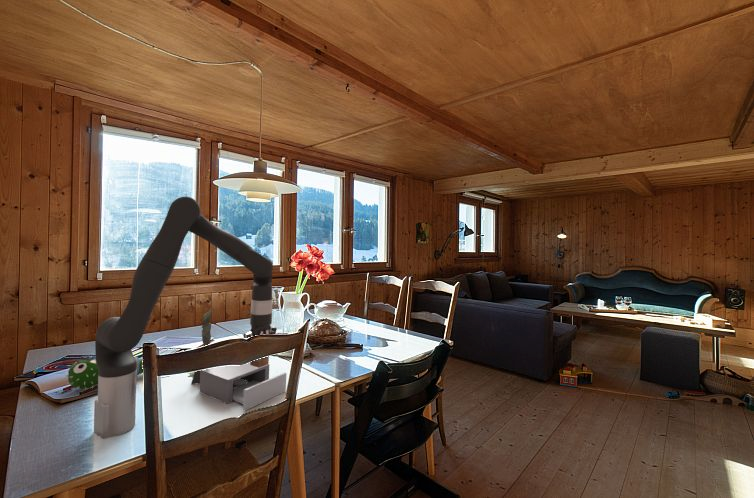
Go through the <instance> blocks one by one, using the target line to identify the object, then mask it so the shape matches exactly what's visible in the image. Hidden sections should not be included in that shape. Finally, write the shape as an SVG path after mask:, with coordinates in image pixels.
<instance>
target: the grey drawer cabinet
mask: <svg viewBox="0 0 754 498" xmlns="http://www.w3.org/2000/svg"><path fill="white" fill-rule="evenodd" d="M268 379H270V363H269V364H268V365H265V366H262V367H260V368H258V367H255V366H252V365H250V363H248V364H245V365H240V366H225V367H217V368H211V369H206V370H201V371H200V384H199V393H201V394H203V395H205V396H207V397H210V398H212V399H215V400H217V401H220V402H222V403H224V402H225V403H224V404H226V403H228V404H231V403H233V400H232V392H233V388H234V387H233V386H234V382H235V381H238V380H243V381H246V382H250V381H252V380H254V381H257V382H260V383H261V382H263V381H266V380H268Z"/></svg>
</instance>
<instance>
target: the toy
mask: <svg viewBox="0 0 754 498" xmlns="http://www.w3.org/2000/svg"><path fill="white" fill-rule="evenodd" d="M134 358H135V359H136V361H137V373H136V379H137V378H138V376H139V375H142V374H143V369H142V359H143V358H139V357H138V356H134ZM66 377H67V379H68V381H67V383H66V384H67V386H68V385H70V386H71V387H73V390H76V389H78V390H85V391H87V390H88V389H91V387H92V389H93V388H95V386H98V367H97V364H96V359H93V360H92V359H90V360H89V359H82V360H79V361H75V362H74V364H73V365H72V366H71V367H68V372H67V375H65V378H66ZM87 388H88V389H87Z"/></svg>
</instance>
